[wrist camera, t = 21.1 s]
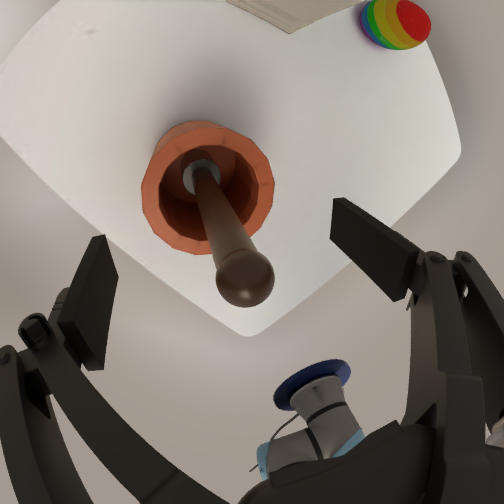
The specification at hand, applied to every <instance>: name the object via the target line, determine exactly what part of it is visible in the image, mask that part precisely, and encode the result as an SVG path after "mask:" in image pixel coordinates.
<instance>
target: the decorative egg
mask: <svg viewBox="0 0 504 504" xmlns="http://www.w3.org/2000/svg"><path fill="white" fill-rule="evenodd" d="M360 21H361V26H362V29H363V31H364V32H365V34H366V35H367V36H368V37H369V38H370V39H371V40H372V41H373V42H375V43H376V44H378V45H380V46H382V47H385V48H388V49H393V50H406V49H410V48H413V47H416V46H418V45H420V44H421V43H422V42H424V41H425V40H426V38H427V37H428V35H429V33H430V30H431V21H430V19H429V16H428V15H427V14H426V12H425V11H424V10H423V9H422V8H420V7H419V6H418V5H416V4H414V3H413V2H411V1H409V0H372V1H371V2H369V3H368V4H367V5H366V6H365V7H364V8H363V10H362V13H361V17H360Z"/></svg>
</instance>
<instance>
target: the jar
mask: <svg viewBox="0 0 504 504" xmlns="http://www.w3.org/2000/svg"><path fill="white" fill-rule="evenodd" d="M195 149H199V150H203V151H205V152H207V153H208V154H209V155H210V157H211V158H212V159H213V161H214V162H215V163H216V165H217V166H218V168H219V170H220V173H221V180H220V183H219V186H220V188H221V190H222V191H223V193H224V195H225V196H226V198H227V200H228V201H229V203H230V205H231V207H232V208H233V210H234V212H235V213H236V215H237V217H238V218H239V220H240V222H241V223H242V225H243V227H244V229H245V230H246V232H247V234H248V235H249V237H251V236H252V235H253V234H254V233H255V232H256V231H257V230H259V229H260V227H261V226H262V224H263V222H264V220H265V218H266V217H267V215H268V213H269V211H270V209H271V207H272V202H273V194H274V186H275V183H274V178H273V175H272V171H271V168H270V164H269V161H268V159H267V157H266V156H265V155H264V154H263V153H262V151H261V150H260V149H259V148H258V147H257V146H256V144H255V143H254V142H253V141H252V140H251V139H249V138H247V137H245V136H243V135H240V134H238V133H236V132H234V131H232V130H230V129H227V128H225V127H222V126H220V125H217V124H215V123H212V122H209V121H188V122H185V123H182V124H179V125H177V126H175V127H173V128H171V129H170V130H169V131H168V132H167V133H166V134H165V135H164V136H163V137H162V138H161V139H160V140H159V142H158V144H157V146H156V148H155V151H154V153H153V156H152V158H151V161H150V163H149V166H148V168H147V171H146V173H145V176H144V179H143V182H142V185H141V192H142V209H143V213H144V215H145V217H146V219H147V220H148V222H149V224H150V226H151V228H152V230H153V232H154V233H155V234H156V235H157V236H159V237H160V238H161V239H162V240H164V241H165V242H166V243H167V244H169V245H170V246H171V247H172V248H174V249H177V250H181V251H184V252H187V253H191V254H194V255H205V254H212V252H211V249H210V245H209V242H208V239H207V235H206V232H205V228H204V225H203V221H202V218H201V214H200V211H199V207H198V203H197V200H196V196H195V195H193V194H191V193H190V192H188V191H187V190H186V188H185V187H184V184H183V181H182V174H181V166H180V165H181V160H182V158H183V156H184V155H185V154H186V153H187V152H189V151H191V150H195Z"/></svg>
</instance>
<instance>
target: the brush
mask: <svg viewBox="0 0 504 504" xmlns="http://www.w3.org/2000/svg"><path fill="white" fill-rule="evenodd" d="M180 166H181V174H182V181H183V184H184V187H185V188H186V190H187V191H188V192H190V193H191V194H193V195H195V196H196V200H197V203H198V207H199V211H200V214H201V218H202V221H203V225H204V228H205V232H206V235H207V239H208V242H209V245H210V249H211V252H212V255H213V259H214V262H215V265H216V269H217V271H216V285H217V288H218V291H219V293H220V294H221V296H222V297H223V298H224V299H225V300H226V301H227V302H229V303H230V304H232V305H234V306H238V307H243V308H246V307H253V306H256V305H258V304H260V303H262V302H263V301H264V300H265V299H266V298H267V297H268V296H269V295H270V293H271V291H272V289H273V286H274V281H275V276H274V270H273V267H272V265H271V263H270V262H269V260H268V259H267V258H266V257H265V256H264V255H263V254H261V253H260V252H258V251H257V249H256V247H255V246H254V244H253V242H252V240H251V239H250V237H249V235H248V234H247V232H246V230H245V229H244V227H243V225H242V223H241V222H240V220H239V218H238V217H237V215H236V213H235V212H234V210H233V208H232V207H231V205H230V203H229V201H228V200H227V198H226V196H225V195H224V193H223V191H222V190H221V188H220V186H219V183H220V180H221V173H220V170H219V168H218V166H217V165H216V163H215V162H214V161H213V159H212V158H211V157H210V155H209V154H208V153H207V152H205V151H203V150H199V149H195V150H191V151H189V152H187V153H186V154H185V155H184V156H183V158H182V160H181V165H180Z"/></svg>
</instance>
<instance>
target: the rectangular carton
mask: <svg viewBox="0 0 504 504" xmlns="http://www.w3.org/2000/svg"><path fill="white" fill-rule="evenodd" d="M226 1H227V2H229V3H231V4H234V5H236V6H238V7H240V8H242V9H244V10H246V11H248V12H250V13H252V14H254V15H256V16H258V17H260V18H262V19H264V20H266V21H268V22H269V23H271V24H273V25H275V26H277V27H278V28H280V29H282V30H284V31H285V32H287V33H289V34H290V33H292V32H294V31H296V30H298V29H300V28H302V27H304V26H306V25H308V24H310V23H312V22H315V21H317V20H319V19H321V18H323V17H326V16H328V15H330V14H332V13H335V12H337V11H340V10H342V9H345V8H347V7H350V6H353V5H355V4H358V3H361V2H364V1H365V0H226Z"/></svg>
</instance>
